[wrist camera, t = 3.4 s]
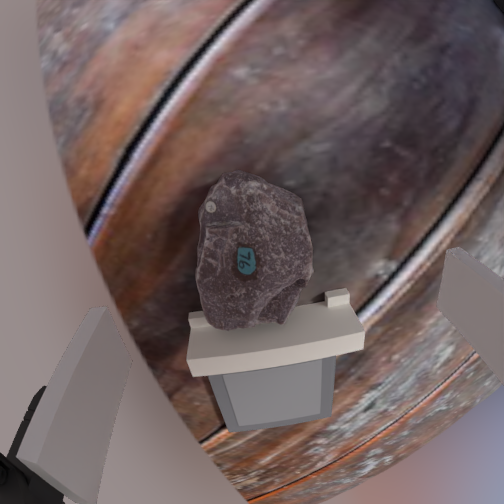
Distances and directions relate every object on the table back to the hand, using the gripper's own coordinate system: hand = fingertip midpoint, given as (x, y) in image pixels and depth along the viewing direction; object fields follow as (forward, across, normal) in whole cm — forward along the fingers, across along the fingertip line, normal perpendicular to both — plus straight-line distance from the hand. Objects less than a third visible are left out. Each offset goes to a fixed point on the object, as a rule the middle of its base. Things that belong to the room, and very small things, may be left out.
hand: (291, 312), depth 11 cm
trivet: (+13, -1, -21) cm, 25 cm away
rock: (+14, +1, +1) cm, 14 cm away
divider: (+13, 0, -10) cm, 17 cm away
